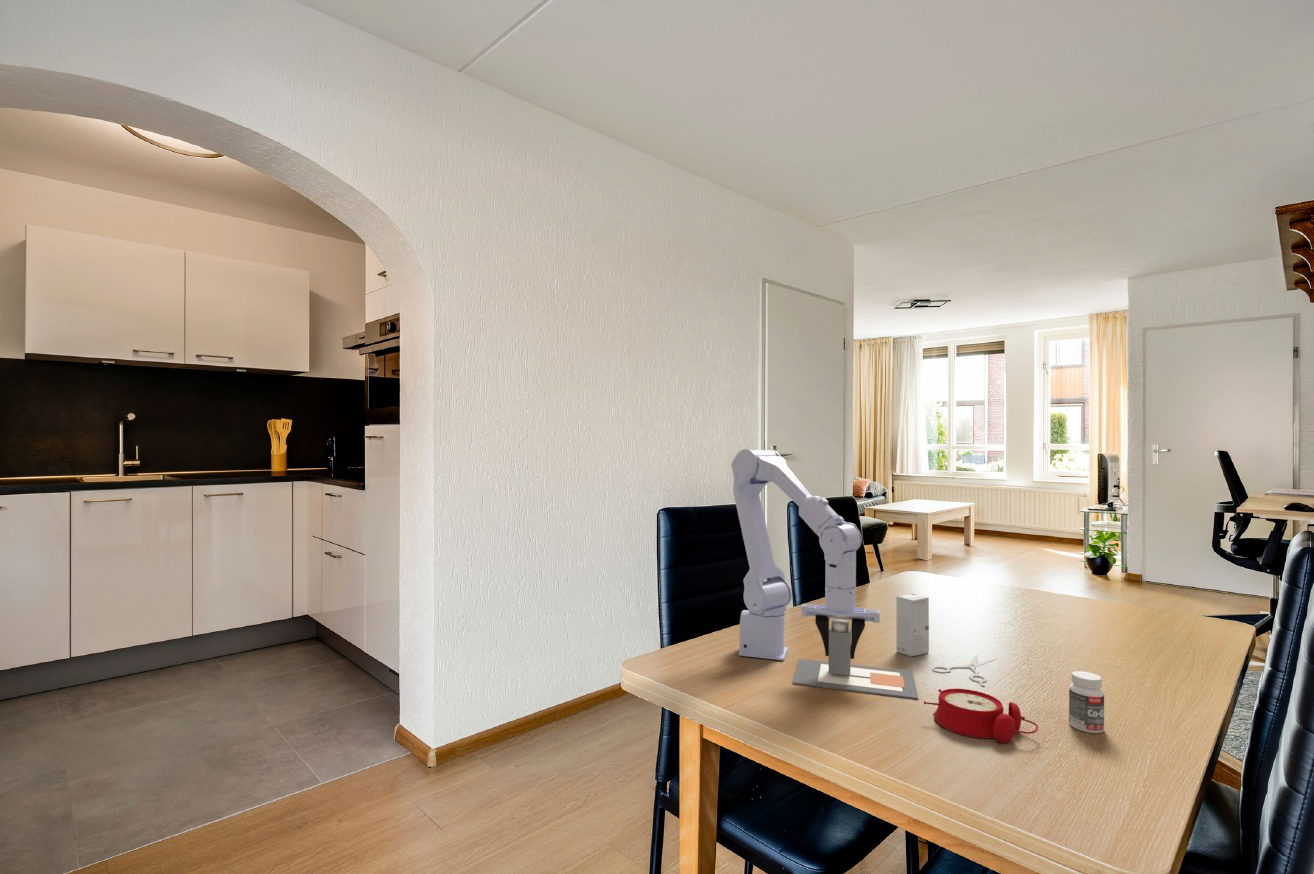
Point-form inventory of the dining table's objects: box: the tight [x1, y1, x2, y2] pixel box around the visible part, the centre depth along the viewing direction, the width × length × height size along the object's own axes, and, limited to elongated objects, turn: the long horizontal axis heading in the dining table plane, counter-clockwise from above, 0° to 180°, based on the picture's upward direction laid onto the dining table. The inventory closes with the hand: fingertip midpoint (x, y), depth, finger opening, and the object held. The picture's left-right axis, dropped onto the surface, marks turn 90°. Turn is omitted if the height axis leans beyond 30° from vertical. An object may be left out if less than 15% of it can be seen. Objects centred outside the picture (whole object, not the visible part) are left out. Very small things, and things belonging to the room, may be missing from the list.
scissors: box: [931, 653, 998, 688], centre depth 131 cm, size 11×1×20 cm
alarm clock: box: [923, 688, 1039, 744], centre depth 103 cm, size 11×6×15 cm
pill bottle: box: [1068, 670, 1105, 734], centre depth 104 cm, size 5×5×8 cm
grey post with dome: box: [828, 619, 852, 676], centre depth 125 cm, size 4×4×10 cm
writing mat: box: [792, 658, 919, 700], centre depth 124 cm, size 22×14×1 cm, turn 72°
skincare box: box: [895, 593, 930, 657], centre depth 140 cm, size 6×4×12 cm
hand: (839, 655), depth 125 cm, fingers closed on grey post with dome, 4 cm apart
